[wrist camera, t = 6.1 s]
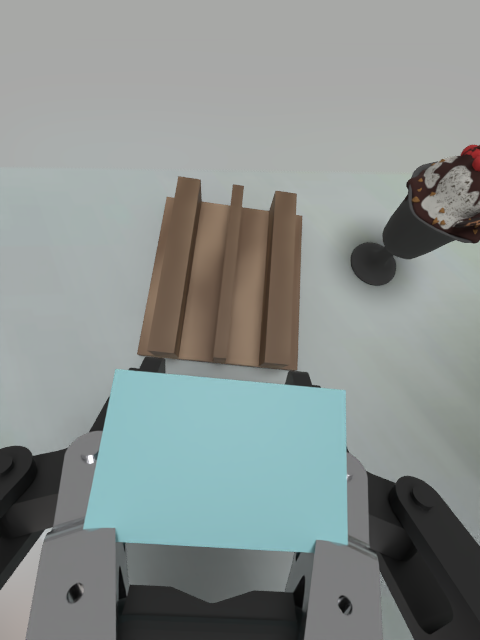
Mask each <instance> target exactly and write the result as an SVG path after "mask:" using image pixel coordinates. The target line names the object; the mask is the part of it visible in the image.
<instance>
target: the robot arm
mask: <svg viewBox="0 0 480 640" xmlns="http://www.w3.org/2000/svg"><path fill="white" fill-rule="evenodd" d="M129 370H131V371H142V372H153V373H164V374H165V359H164V358H156V357H145V358H144V360H143V362H142V364H141V366H140V369H137V368H130V369H129ZM285 385H294V386H305V387H316V388H321V387H320V386H317V385H312V383H311V380H310V377H309V374H308V373H307V372H299V371H289V372H288V375H287V379H286V383H285ZM109 399H110V397H109V398H108V399H107V401H106V403H105V405H104V406H103V408H102V410H101V412H100V414H99V415H98V417H97V419H96V421H95V423H94V424H93V426H92V428H91V430H90V431H89V433H86V434H84V435H82V436H80V437H79V438H77V439H76V440H75V441H74V442H72V444H71V445H70V446H69V447H68V448H66V449H63V450H59V451H55V452H50V453H45V454H40V455H35V456H32V453H31V452H30V450H29V449H27V448H25V447H22V446H10V447H5V448H2V449H0V590H1V588H2V587H3V586H4V584H5V583H6V582H7V580H8V579H9V578H10V576H11V575H12V574H13V572H14V571H15V569H16V568H17V567H18V565H19V564H20V562H21V561H22V560H23V559H24V557H25V556H26V555H27V553H28V552H29V551H30V549H31V548H32V546H33V545H34V544H35V542H36V541H37V540H38V538H39V537H40V536H41V534H42V533H43V532H44V530H45V529H47V528H51V527H53V528H52V530H51V532H48V533H47V535H46V537H45V539H44V542H43V545H42V550H41V555H40V561H39V566H38V572H37V578H36V584H35V589H34V595H33V600H32V606H31V611H30V617H29V623H28V628H27V634H26V640H383V634H382V613H381V593H380V572H381V574H382V576H383V578H384V580H385V582H386V584H387V586H388V588H389V590H390V592H391V594H392V596H393V598H394V600H395V602H396V604H397V606H398V608H399V610H400V612H401V614H402V616H403V618H404V620H405V622H406V624H407V626H408V628H409V630H410V632H411V634H412V636H413V638H414V640H480V546H479V545H478V544H477V542H476V541H475V540H474V539H473V537H472V536H471V535H470V533H469V532H468V531H467V530H466V528H465V527H464V526H463V525H462V523H461V522H460V521H459V519H458V518H457V517H456V516H455V514H454V513H453V512H452V511H451V509H450V508H449V507H448V505H447V504H446V503H445V502H444V500H443V499H442V498H441V497H440V495H439V494H438V493H437V492H436V491H435V490H434V489H433V488H432V487H431V486H430V485H428V484H427V483H425V482H424V481H422V480H420V479H418V478H415V477H411V476H404V477H401V478H399V479H398V481H397V482H396V483H394V482H391V481H389V480H386V479H383V478H381V477H378V476H376V475H373V474H371V473H369V472H367V471H366V470H365V468H364V467H363V465H362V464H361V462H360V461H359V460H358V459H357V458H356V457H354V456H353V455H351V454H350V453H349V451H348V449H347V446H346V457H347V523H348V545H346V544H342V543H337V542H331V541H324V540H316V543H315V547H314V551H313V553H307V552H294V555H293V561H292V566H291V570H290V573H289V577H288V580H287V584H286V588H285V592H272V591H251V592H248V593H245V594H242V595H239V596H236V597H233V598H230V599H226V600H223V601H220V602H217V603H208V602H205V601H203V600H201V599H198V598H196V597H194V596H191V595H189V594H187V593H184V592H182V591H180V590H177V589H175V588H173V587H165V586H144V585H130V586H129V578H128V566H127V548H126V542H116V529H115V528H90V529H83V527H84V522H85V517H86V512H87V507H88V502H89V497H90V492H91V487H92V483H93V478H94V473H95V468H96V463H97V458H98V453H99V448H100V443H101V438H102V433H103V428H104V423H105V418H106V414H107V409H108V404H109ZM379 570H380V572H379Z"/></svg>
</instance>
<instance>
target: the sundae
mask: <svg viewBox="0 0 480 640" xmlns="http://www.w3.org/2000/svg"><path fill="white" fill-rule="evenodd" d="M406 186H407V188H408V195H407V196H406V198H405V199H404V200H403V202H402V203H401V204H400V206H399V207H398V208H397V210H396V211H395V212H394V214H393V215H392V216H391V218H390V220H389V221H388V223H387V225H386V226H385V228H384V231H383V242H384V245H385V247H383V246H381V245H379V244H377V243H370V242H367V243H363V244H360V245H359V246H357V247H356V248H355V249H354V251H353V253H352V256H351V265H352V268H353V270H354V272H355V274H356V275H357V276H358V277H359V278H360V279H361V280H362V281H364V282H366V283H368V284H371V285H383V284H386V283H388V282H389V281H390V280H391V279H392V278H393V277H394V275H395V271H396V263H395V259H394V257H393V255H395V256H397V257H400V258H404V259H412V258H416V257H418V256H421V255H424V254H426V253H429V252H431V251H433V250H435V249H437V248H439V247H441V246H443V245H445V244H447V243H449V242H452V241H454V240H457V241H461V242H464V243H473V244H474V243H478V242H479V240H480V145H479V146H477V145H470V146H468V147H466V148H465V149H464V150H463V152H462V153H461V156H453V157H448V158H445V159H442V160H441V161H439V162H433V163H429V164H425V165H422V166H420V167H418V168H417V169H416V170H415V171H414V173H413V175H412V177H411V179H409V180H408V182H407V185H406Z"/></svg>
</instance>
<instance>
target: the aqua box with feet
mask: <svg viewBox="0 0 480 640" xmlns="http://www.w3.org/2000/svg"><path fill="white" fill-rule="evenodd" d="M90 528H115V529H116V542H127V543H145V544H163V545H181V546H199V547H217V548H235V549H253V550H271V551H289V552H307V553H313V551H314V547H315V543H316V540H324V541H331V542H337V543H342V544H346V545H348V523H347V457H346V391H345V390H337V389H326V388H316V387H305V386H294V385H283V384H272V383H261V382H250V381H240V380H229V379H218V378H207V377H196V376H185V375H175V374H164V373H153V372H142V371H131V370H120V369H115V374H114V379H113V384H112V389H111V394H110V399H109V404H108V409H107V414H106V418H105V423H104V428H103V433H102V438H101V443H100V448H99V453H98V458H97V463H96V468H95V473H94V478H93V483H92V487H91V492H90V497H89V502H88V507H87V512H86V517H85V522H84V527H83V529H90Z"/></svg>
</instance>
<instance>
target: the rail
mask: <svg viewBox="0 0 480 640" xmlns="http://www.w3.org/2000/svg"><path fill="white" fill-rule="evenodd" d="M243 189H244V186H240V185H233V190H232V198H231V206H228V205H221V204H214V203H207V202H202V199H201V180H199V179H193V178H186V177H179V176H178V182H177V187H176V193H175V198H172V197H167V199H166V204H165V210H164V215H163V220H162V226H161V231H160V236H159V241H158V247H157V252H156V257H155V263H154V268H153V273H152V278H151V284H150V289H149V294H148V299H147V305H146V310H145V315H144V321H143V326H142V331H141V336H140V342H139V347H138V352H137V354H138V355H141V356H151V357H161V358H171V359H181V360H191V361H201V362H211V363H221V364H231V365H241V366H251V367H261V368H271V369H281V370H291V371H296V370H297V362H298V330H299V299H300V267H301V236H302V216H299V215H296V197H297V194H294V193H288V192H281V191H275V194H274V198H273V201H272V204H271V207H270V210H269V211H264V210H257V209H250V208H243V207H242V199H243Z"/></svg>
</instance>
